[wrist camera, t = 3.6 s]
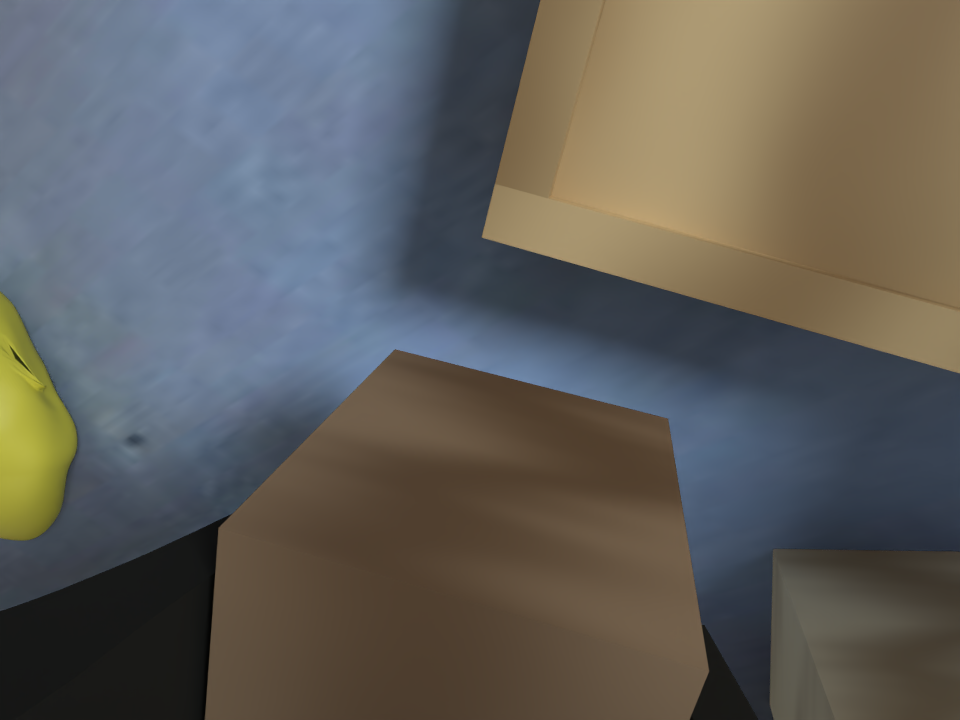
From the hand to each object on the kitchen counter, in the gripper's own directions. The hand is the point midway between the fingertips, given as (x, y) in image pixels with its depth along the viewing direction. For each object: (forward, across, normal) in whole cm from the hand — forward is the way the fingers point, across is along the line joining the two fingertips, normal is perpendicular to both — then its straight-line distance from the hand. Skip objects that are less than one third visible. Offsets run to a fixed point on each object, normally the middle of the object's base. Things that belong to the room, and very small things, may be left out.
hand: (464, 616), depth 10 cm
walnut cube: (+4, 0, 0) cm, 4 cm away
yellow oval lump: (+9, +15, +4) cm, 18 cm away
